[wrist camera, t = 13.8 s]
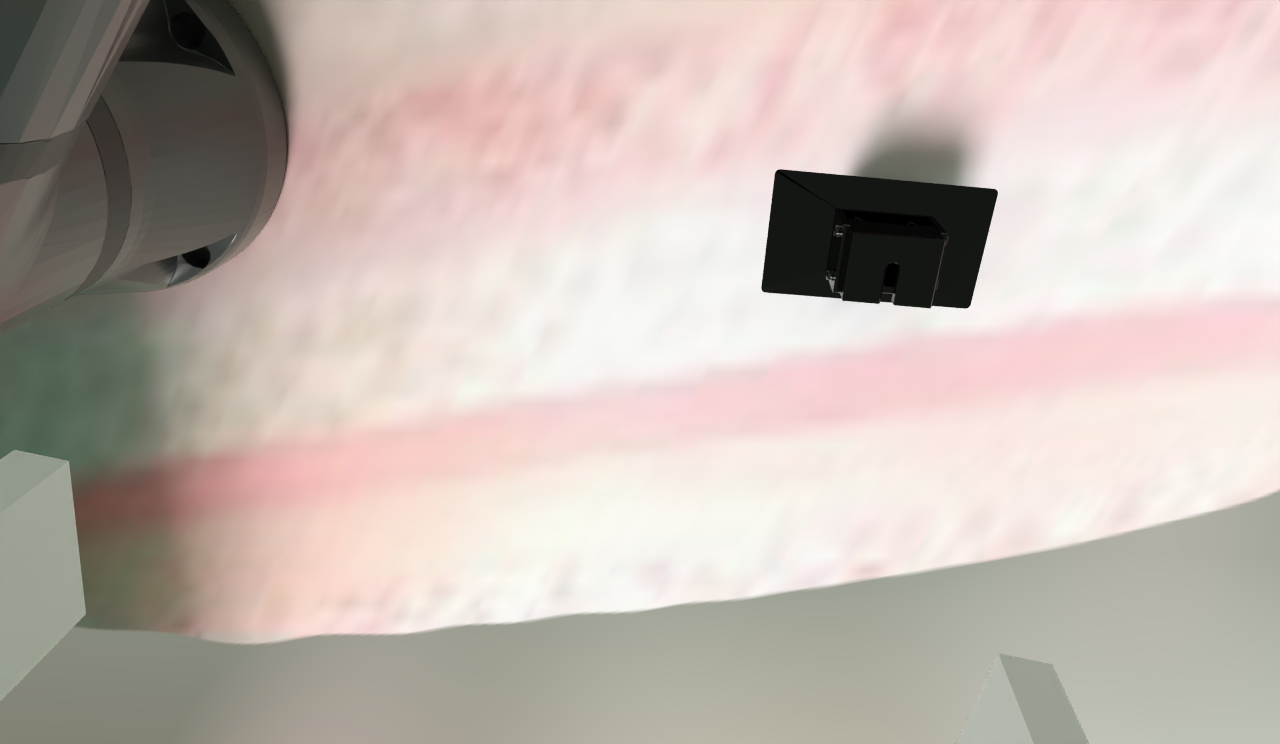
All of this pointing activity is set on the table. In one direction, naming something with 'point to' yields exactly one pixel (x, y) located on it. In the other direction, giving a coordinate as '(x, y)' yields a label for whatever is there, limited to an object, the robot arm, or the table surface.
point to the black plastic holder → (876, 239)
